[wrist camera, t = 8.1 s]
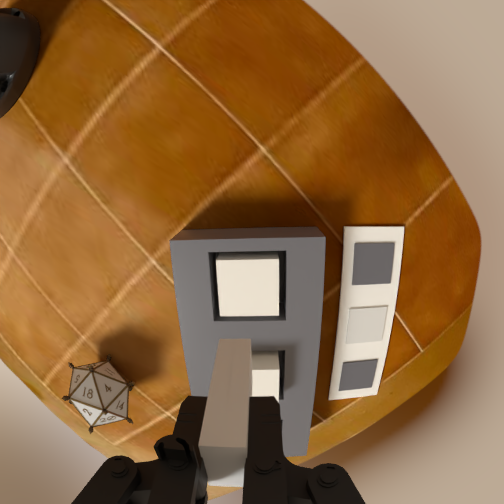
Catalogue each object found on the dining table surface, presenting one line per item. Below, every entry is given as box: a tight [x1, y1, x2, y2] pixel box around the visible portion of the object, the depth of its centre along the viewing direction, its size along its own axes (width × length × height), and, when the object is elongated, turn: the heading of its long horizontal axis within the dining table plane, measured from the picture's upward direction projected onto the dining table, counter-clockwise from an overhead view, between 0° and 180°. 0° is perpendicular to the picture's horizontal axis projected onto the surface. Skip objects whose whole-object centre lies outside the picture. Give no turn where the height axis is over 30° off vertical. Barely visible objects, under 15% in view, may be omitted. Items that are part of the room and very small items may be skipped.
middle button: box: [251, 351, 279, 403], centre depth 27 cm, size 5×5×3 cm
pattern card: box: [328, 226, 404, 400], centre depth 30 cm, size 20×6×1 cm, turn 2°
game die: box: [62, 354, 135, 434], centre depth 29 cm, size 9×8×10 cm
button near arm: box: [216, 251, 279, 316], centre depth 26 cm, size 5×5×3 cm
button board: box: [170, 227, 326, 457], centre depth 29 cm, size 26×12×4 cm, turn 2°
